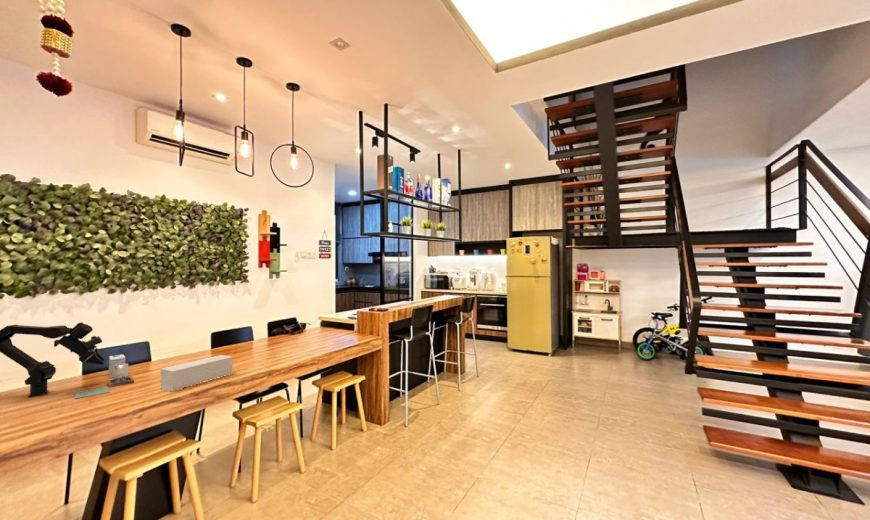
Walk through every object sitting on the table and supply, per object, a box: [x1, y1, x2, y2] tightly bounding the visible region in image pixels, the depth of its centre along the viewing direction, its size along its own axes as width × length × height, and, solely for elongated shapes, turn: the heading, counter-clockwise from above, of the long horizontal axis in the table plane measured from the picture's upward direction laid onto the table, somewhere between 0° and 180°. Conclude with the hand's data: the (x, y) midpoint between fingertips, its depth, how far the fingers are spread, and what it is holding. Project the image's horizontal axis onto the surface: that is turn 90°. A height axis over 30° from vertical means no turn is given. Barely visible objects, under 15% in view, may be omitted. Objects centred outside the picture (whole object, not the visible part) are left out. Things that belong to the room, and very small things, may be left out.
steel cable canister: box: [112, 362, 129, 384], centre depth 190 cm, size 6×6×10 cm
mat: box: [74, 385, 110, 400], centre depth 175 cm, size 12×12×1 cm
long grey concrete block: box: [160, 354, 234, 392], centre depth 193 cm, size 32×11×11 cm, turn 153°
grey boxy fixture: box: [108, 353, 126, 379], centre depth 205 cm, size 11×7×11 cm, turn 47°
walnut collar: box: [107, 376, 135, 388], centre depth 190 cm, size 10×10×2 cm
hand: (103, 362), depth 185 cm, fingers open, 9 cm apart
